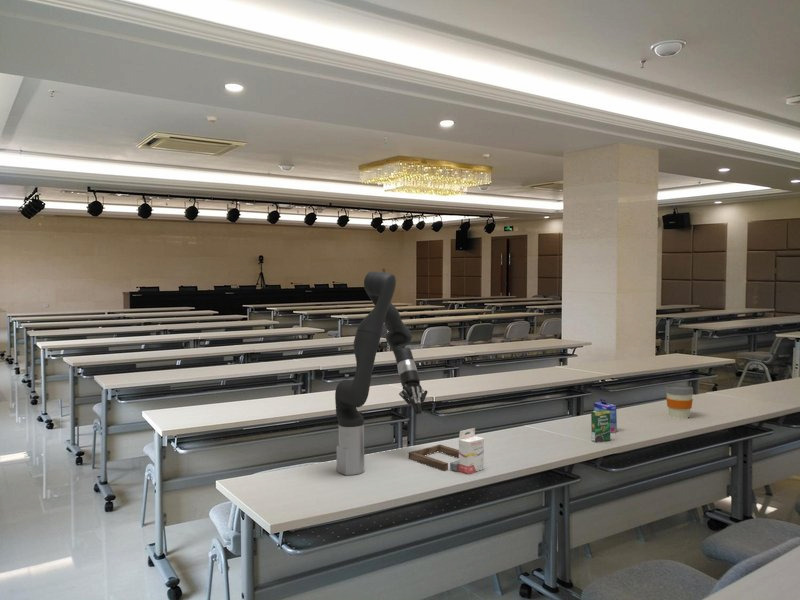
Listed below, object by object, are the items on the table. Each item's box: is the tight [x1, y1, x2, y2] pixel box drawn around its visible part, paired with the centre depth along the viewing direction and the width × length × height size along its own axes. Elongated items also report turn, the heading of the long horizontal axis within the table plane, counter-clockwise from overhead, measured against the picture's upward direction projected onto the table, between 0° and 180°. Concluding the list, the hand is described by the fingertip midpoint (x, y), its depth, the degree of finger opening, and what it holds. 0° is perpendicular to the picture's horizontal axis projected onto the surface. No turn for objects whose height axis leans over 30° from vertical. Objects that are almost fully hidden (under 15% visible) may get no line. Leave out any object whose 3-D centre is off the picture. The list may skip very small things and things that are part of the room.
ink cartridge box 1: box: [458, 427, 485, 475], centre depth 219 cm, size 9×5×15 cm, turn 129°
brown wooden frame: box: [407, 444, 459, 472], centre depth 232 cm, size 17×20×2 cm
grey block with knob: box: [449, 459, 459, 472], centre depth 222 cm, size 12×4×10 cm, turn 130°
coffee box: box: [590, 410, 611, 443], centre depth 257 cm, size 8×3×13 cm, turn 108°
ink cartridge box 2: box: [593, 398, 618, 434], centre depth 275 cm, size 10×6×14 cm, turn 21°
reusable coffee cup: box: [665, 384, 694, 419], centre depth 300 cm, size 13×13×15 cm
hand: (418, 413), depth 233 cm, fingers closed
